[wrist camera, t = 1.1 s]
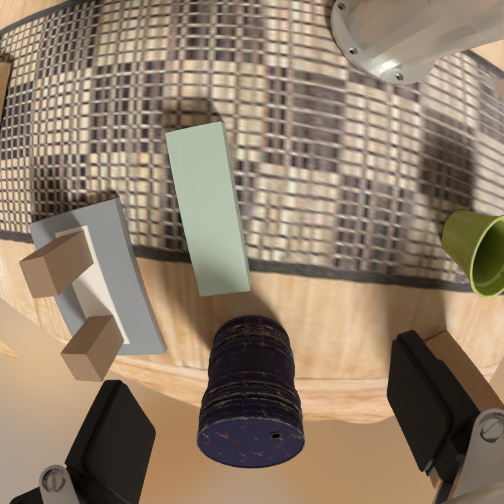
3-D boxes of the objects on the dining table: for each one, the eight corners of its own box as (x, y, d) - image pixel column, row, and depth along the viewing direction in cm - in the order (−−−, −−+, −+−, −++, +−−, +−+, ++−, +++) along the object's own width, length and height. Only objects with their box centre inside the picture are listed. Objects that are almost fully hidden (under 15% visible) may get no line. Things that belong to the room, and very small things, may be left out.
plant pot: (451, 280, 32) (487, 312, 24) (417, 238, 30) (458, 267, 22) (490, 229, 30) (531, 252, 22) (460, 181, 28) (507, 196, 20)
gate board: (34, 221, 30) (-13, 246, 21) (119, 196, 29) (74, 219, 20) (84, 349, 37) (58, 390, 28) (167, 348, 36) (148, 399, 27)
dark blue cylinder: (248, 384, 38) (247, 476, 24) (196, 343, 36) (172, 440, 22) (306, 347, 36) (327, 444, 22) (255, 299, 33) (255, 400, 19)
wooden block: (390, 356, 37) (445, 468, 18) (446, 328, 35) (516, 421, 17) (394, 394, 40) (434, 491, 21) (444, 370, 39) (496, 455, 20)
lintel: (176, 134, 27) (165, 133, 23) (225, 124, 27) (221, 121, 23) (206, 279, 33) (200, 296, 29) (250, 273, 32) (249, 290, 29)
